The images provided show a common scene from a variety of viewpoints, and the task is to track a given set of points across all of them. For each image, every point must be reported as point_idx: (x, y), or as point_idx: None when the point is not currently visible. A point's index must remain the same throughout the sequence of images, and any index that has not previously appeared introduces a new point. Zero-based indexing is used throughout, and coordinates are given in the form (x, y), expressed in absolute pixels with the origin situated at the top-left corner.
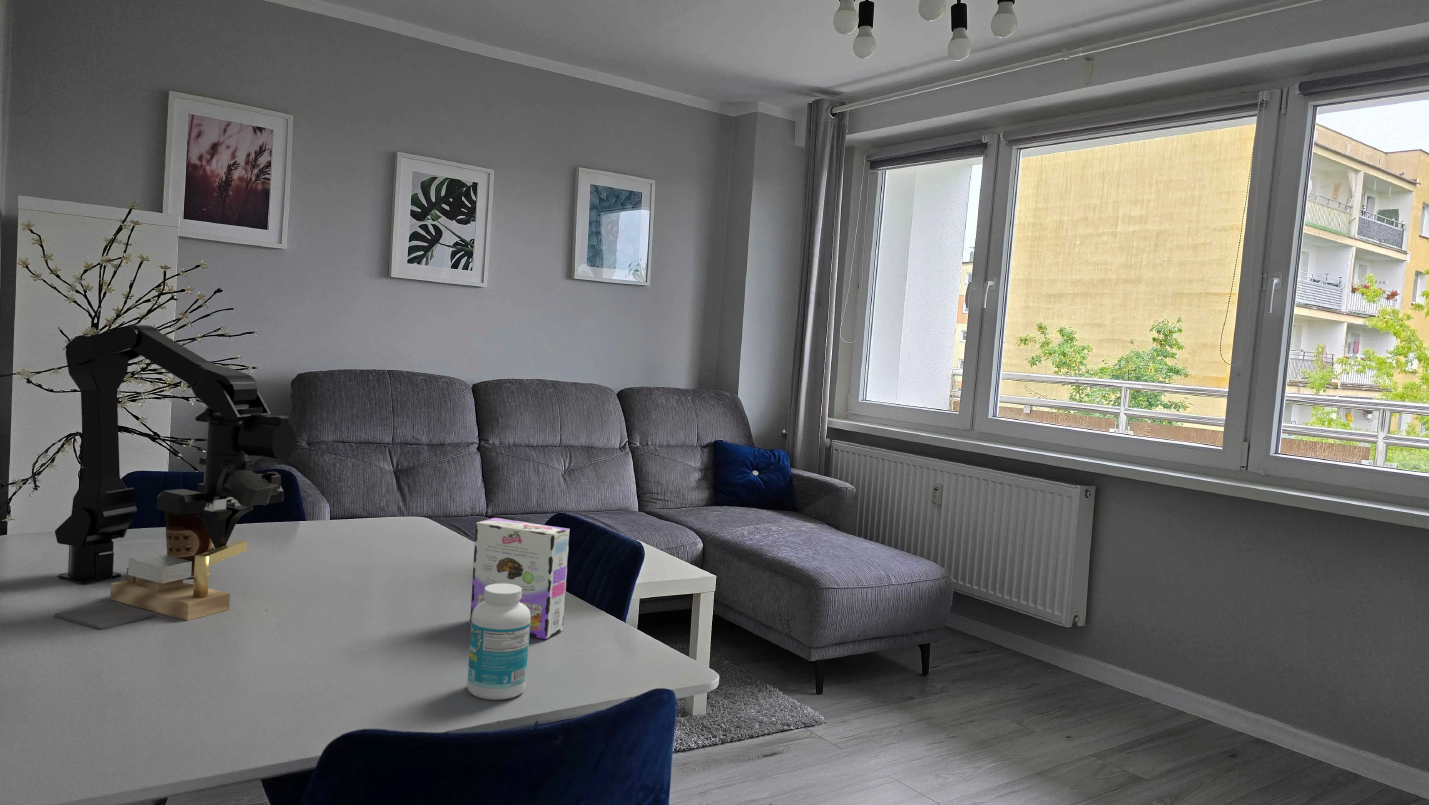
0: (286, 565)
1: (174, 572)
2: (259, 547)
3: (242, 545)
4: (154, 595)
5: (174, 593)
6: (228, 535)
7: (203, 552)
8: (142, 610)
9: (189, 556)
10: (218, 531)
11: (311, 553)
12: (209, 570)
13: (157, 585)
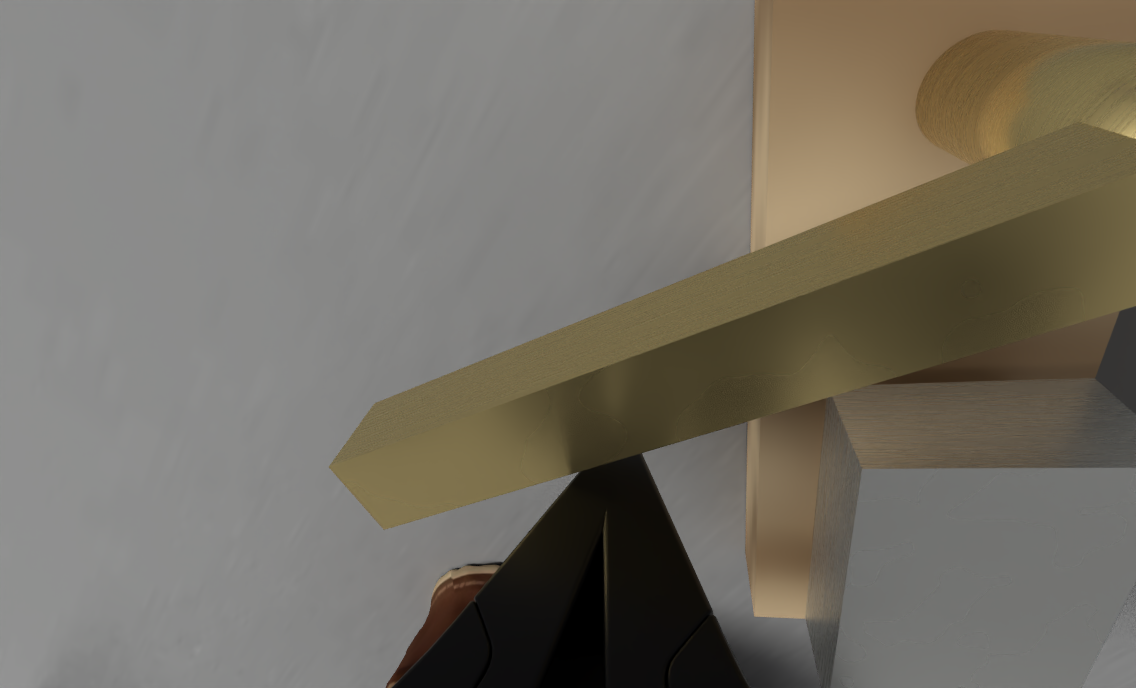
0: (137, 495)
1: (1015, 422)
2: (167, 681)
3: (406, 424)
4: (1106, 337)
5: None
6: (546, 551)
7: None
8: None
9: None
10: (722, 633)
11: (11, 551)
12: (442, 588)
13: None
